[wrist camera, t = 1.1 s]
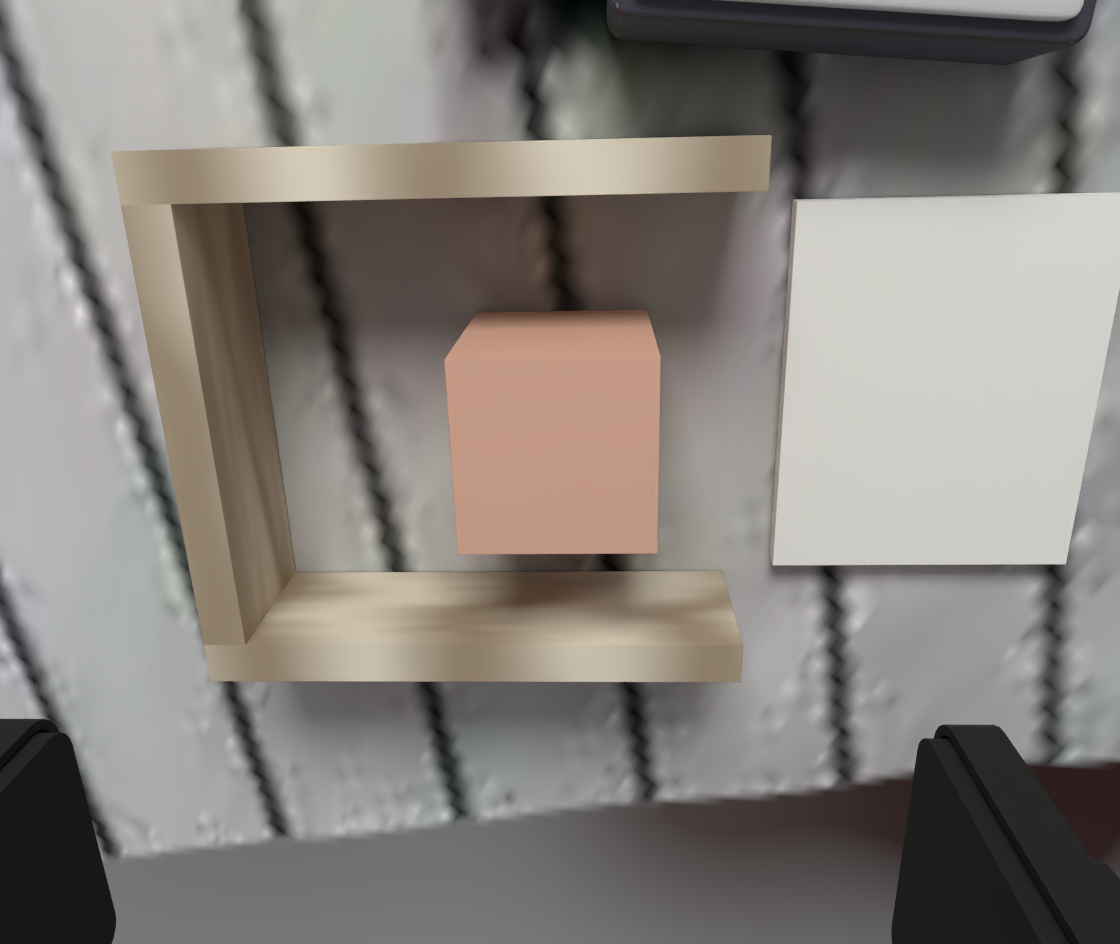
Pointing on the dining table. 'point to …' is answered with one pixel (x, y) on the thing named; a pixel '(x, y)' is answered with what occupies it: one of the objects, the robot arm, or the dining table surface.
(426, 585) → the u-shaped frame
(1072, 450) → the mat
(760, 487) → the dining table surface
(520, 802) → the dining table surface
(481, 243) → the dining table surface
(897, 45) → the calculator
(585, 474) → the block
